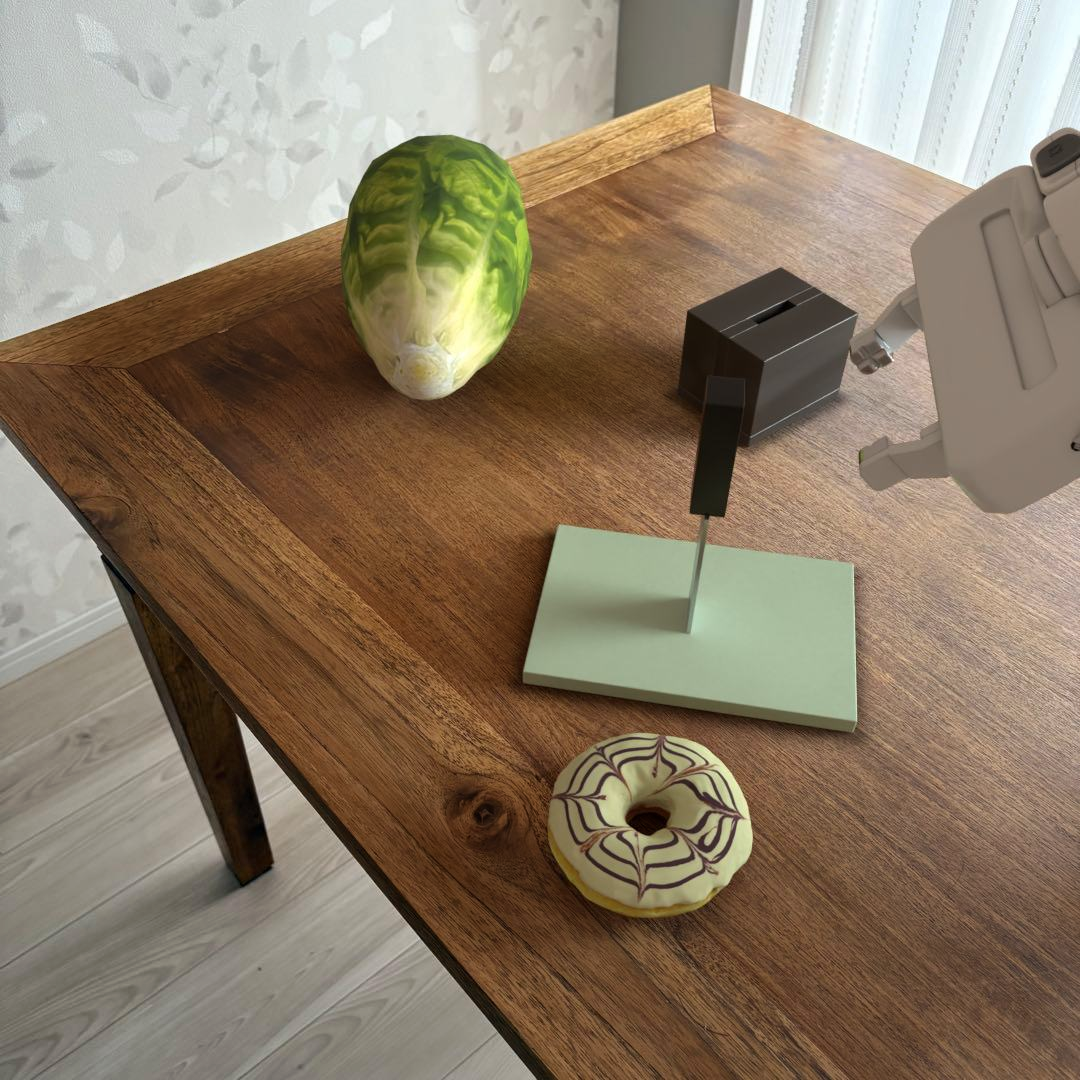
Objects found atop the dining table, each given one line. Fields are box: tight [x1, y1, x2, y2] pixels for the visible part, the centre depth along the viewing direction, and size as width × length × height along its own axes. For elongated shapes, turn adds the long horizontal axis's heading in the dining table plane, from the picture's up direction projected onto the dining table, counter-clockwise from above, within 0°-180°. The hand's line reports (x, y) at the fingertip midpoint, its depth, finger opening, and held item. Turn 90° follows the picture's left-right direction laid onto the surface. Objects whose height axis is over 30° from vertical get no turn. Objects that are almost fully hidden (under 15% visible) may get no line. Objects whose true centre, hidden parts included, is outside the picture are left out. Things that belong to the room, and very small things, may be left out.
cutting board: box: [522, 523, 858, 733], centre depth 71 cm, size 20×13×1 cm, turn 80°
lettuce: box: [340, 134, 533, 402], centre depth 87 cm, size 15×27×16 cm, turn 0°
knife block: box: [676, 266, 859, 448], centre depth 86 cm, size 8×10×8 cm
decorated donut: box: [547, 732, 754, 919], centre depth 59 cm, size 10×11×4 cm
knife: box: [686, 376, 745, 634], centre depth 64 cm, size 2×3×18 cm, turn 172°
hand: (859, 413), depth 57 cm, fingers open, 8 cm apart
